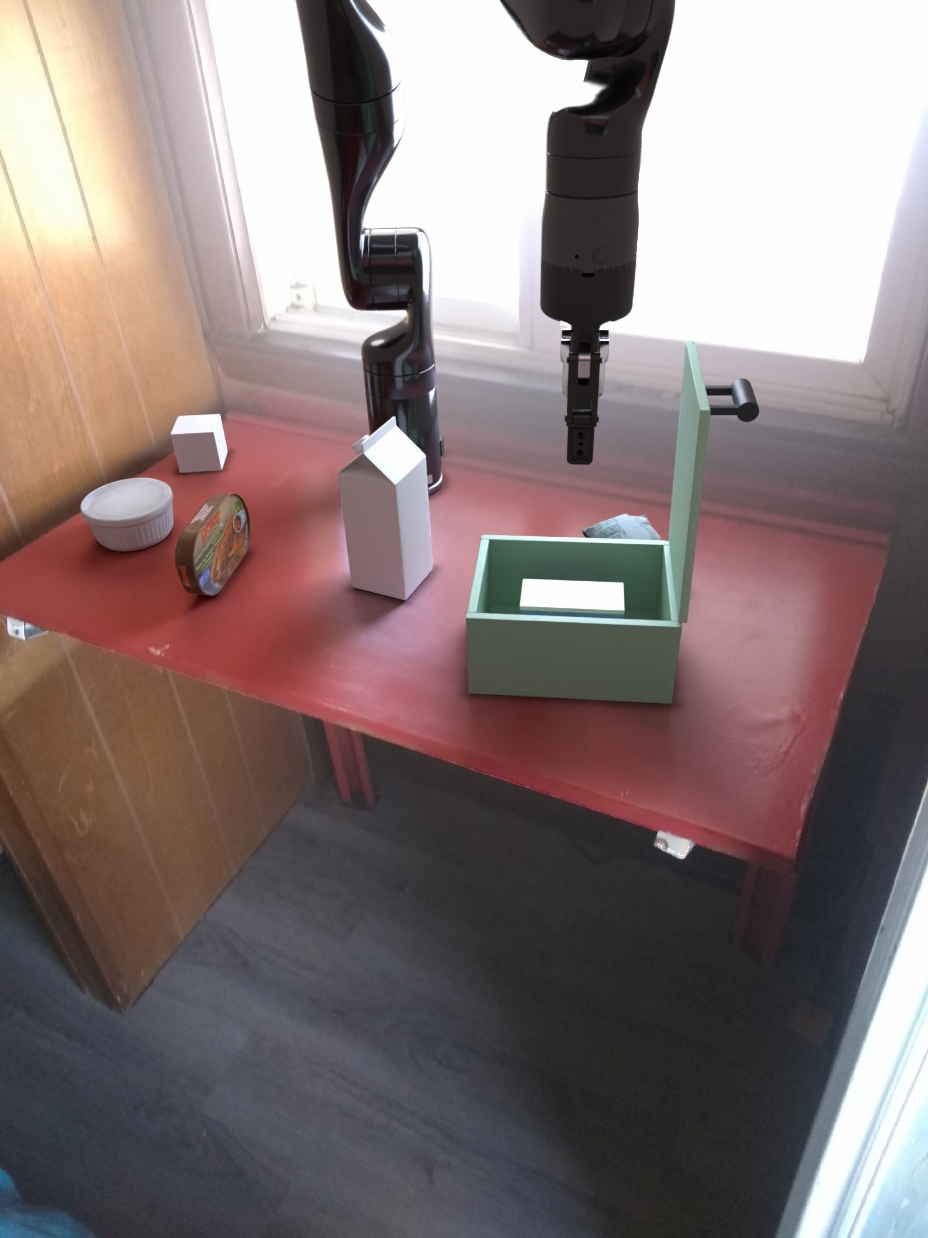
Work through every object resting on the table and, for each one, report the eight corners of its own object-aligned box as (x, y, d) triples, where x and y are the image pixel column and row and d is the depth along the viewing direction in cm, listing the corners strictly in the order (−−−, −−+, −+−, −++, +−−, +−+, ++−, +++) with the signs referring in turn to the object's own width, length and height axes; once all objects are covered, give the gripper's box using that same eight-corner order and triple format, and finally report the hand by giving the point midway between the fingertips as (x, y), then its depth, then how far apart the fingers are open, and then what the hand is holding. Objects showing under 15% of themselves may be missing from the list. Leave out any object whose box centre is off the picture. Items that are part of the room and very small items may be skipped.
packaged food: (645, 533, 114) (648, 498, 111) (688, 585, 105) (693, 548, 102) (579, 546, 113) (580, 511, 110) (617, 600, 103) (619, 563, 100)
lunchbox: (468, 693, 91) (465, 618, 86) (483, 606, 103) (481, 534, 98) (671, 704, 89) (682, 627, 84) (663, 613, 101) (671, 540, 95)
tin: (207, 610, 104) (191, 547, 99) (181, 608, 105) (164, 545, 100) (256, 540, 116) (245, 480, 111) (233, 538, 117) (220, 479, 111)
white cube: (227, 451, 136) (220, 413, 133) (221, 470, 132) (213, 431, 128) (186, 453, 136) (178, 415, 133) (179, 472, 131) (170, 434, 128)
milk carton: (433, 569, 109) (424, 421, 98) (405, 602, 104) (392, 449, 93) (381, 557, 112) (366, 411, 100) (351, 588, 107) (331, 438, 95)
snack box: (522, 628, 98) (522, 578, 94) (619, 633, 97) (623, 582, 93) (519, 657, 94) (519, 606, 90) (620, 662, 93) (624, 610, 89)
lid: (700, 410, 71) (772, 410, 70) (685, 341, 83) (747, 340, 82) (678, 623, 83) (739, 624, 83) (668, 536, 95) (721, 537, 94)
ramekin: (108, 512, 123) (98, 476, 120) (191, 510, 123) (182, 475, 119) (77, 557, 114) (65, 521, 111) (166, 557, 114) (156, 520, 110)
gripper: (545, 227, 78) (541, 406, 88) (536, 278, 67) (533, 477, 77) (634, 226, 77) (621, 407, 87) (641, 278, 66) (624, 480, 76)
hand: (580, 440), depth 82 cm, fingers open, 8 cm apart
